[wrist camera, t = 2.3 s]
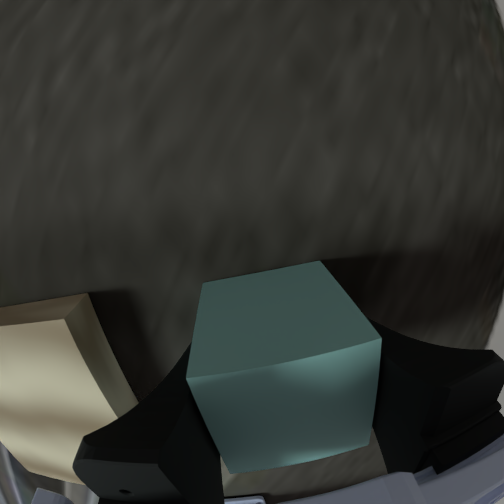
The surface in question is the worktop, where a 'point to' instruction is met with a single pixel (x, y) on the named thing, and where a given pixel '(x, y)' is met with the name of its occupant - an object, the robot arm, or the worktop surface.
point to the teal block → (283, 367)
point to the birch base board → (56, 382)
